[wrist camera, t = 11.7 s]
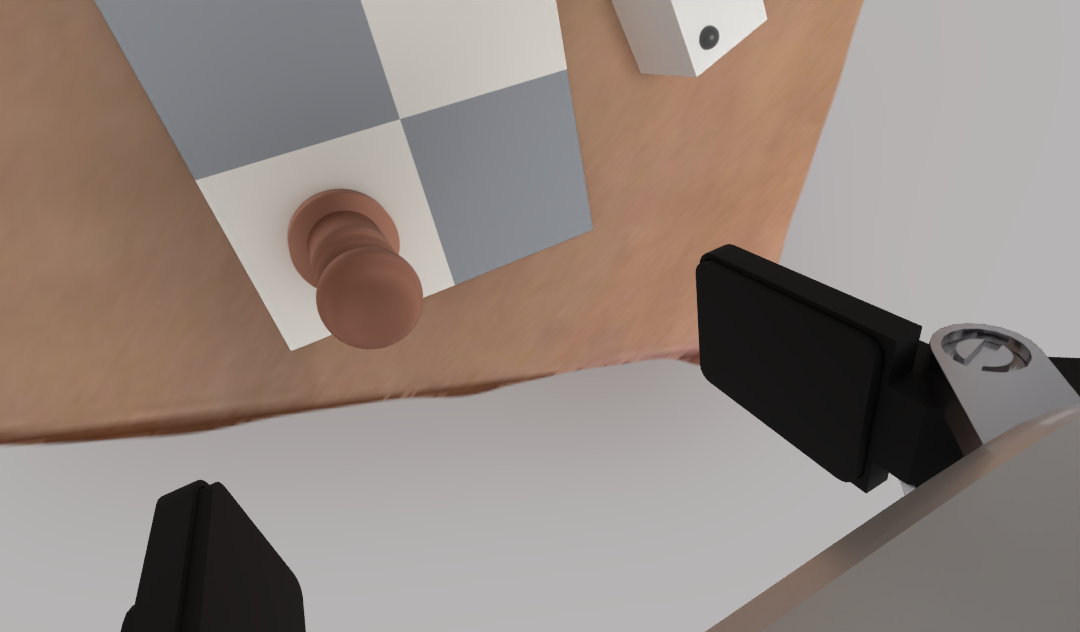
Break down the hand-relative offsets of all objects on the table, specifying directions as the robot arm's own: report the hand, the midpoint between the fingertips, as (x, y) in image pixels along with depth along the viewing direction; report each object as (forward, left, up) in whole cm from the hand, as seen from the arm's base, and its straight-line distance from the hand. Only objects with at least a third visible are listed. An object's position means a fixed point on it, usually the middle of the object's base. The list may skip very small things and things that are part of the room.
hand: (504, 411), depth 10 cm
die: (-19, -4, -21) cm, 29 cm away
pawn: (+1, +2, -20) cm, 21 cm away
